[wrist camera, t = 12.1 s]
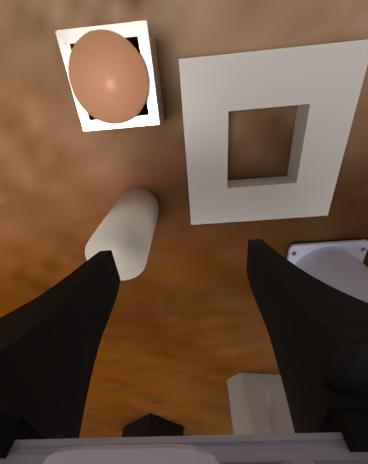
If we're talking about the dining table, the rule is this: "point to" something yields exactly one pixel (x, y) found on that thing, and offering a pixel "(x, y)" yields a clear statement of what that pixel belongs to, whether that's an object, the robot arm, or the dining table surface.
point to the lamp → (152, 427)
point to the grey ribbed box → (258, 404)
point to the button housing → (146, 45)
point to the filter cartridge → (127, 232)
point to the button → (108, 76)
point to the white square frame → (266, 96)
